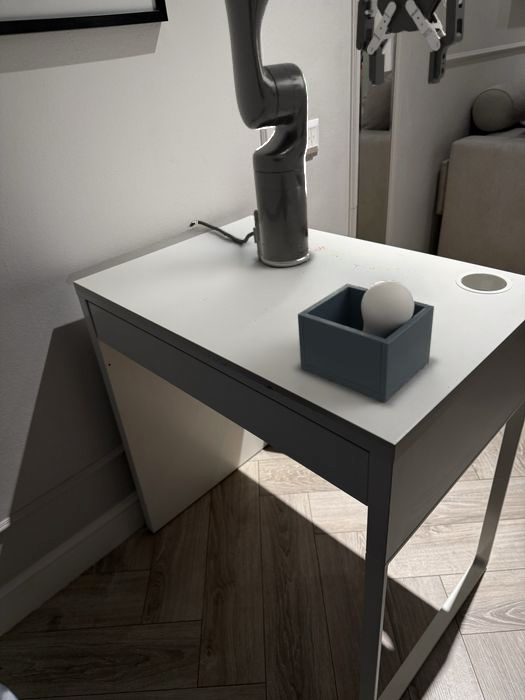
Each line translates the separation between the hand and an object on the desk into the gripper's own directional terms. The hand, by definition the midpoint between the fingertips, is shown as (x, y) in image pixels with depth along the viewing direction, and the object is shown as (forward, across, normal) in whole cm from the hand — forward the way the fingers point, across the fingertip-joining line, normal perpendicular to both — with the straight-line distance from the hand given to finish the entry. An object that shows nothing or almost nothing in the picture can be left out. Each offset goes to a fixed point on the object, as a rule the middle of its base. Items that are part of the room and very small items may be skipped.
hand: (404, 84), depth 71 cm
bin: (+30, -9, +23) cm, 39 cm away
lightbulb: (+29, -9, +23) cm, 38 cm away
